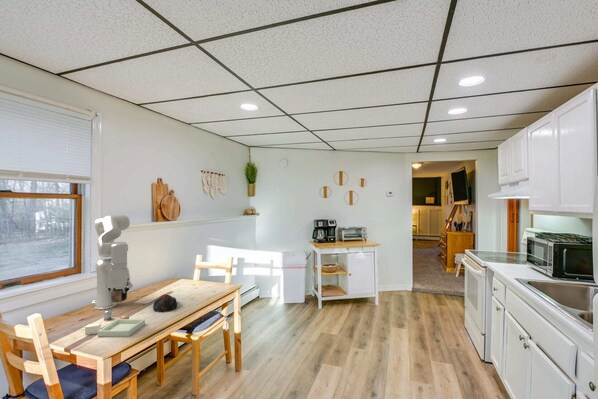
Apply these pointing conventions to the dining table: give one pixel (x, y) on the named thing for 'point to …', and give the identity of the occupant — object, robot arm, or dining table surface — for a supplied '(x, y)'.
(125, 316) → the peach rounded capsule
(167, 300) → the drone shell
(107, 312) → the grey cylinder
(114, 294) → the walnut block
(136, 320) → the tray
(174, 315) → the dining table surface
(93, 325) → the cream block
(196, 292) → the dining table surface
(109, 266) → the robot arm
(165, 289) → the dining table surface
